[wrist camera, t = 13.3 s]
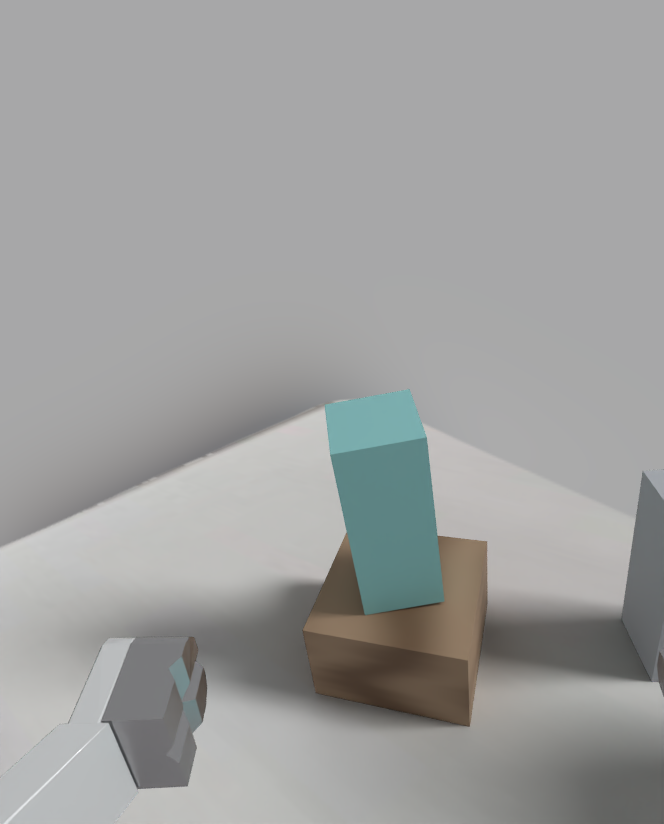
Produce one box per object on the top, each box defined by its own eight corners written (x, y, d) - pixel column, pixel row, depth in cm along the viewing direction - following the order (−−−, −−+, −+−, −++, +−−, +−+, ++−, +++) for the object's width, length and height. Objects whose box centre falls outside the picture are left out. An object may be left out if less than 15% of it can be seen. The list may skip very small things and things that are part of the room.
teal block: (364, 615, 30) (330, 454, 25) (356, 556, 34) (324, 404, 28) (444, 601, 30) (426, 437, 25) (428, 544, 34) (409, 389, 28)
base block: (316, 696, 32) (302, 630, 30) (358, 586, 39) (349, 525, 36) (469, 729, 30) (467, 660, 27) (487, 606, 36) (486, 541, 34)
